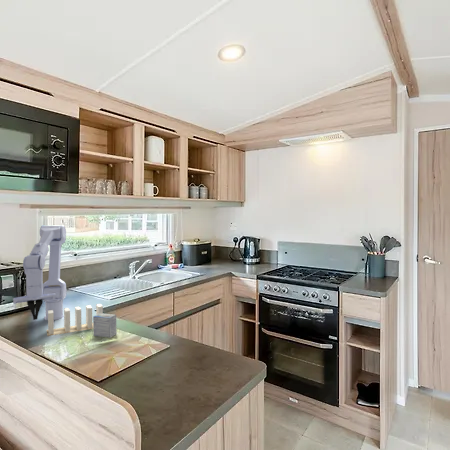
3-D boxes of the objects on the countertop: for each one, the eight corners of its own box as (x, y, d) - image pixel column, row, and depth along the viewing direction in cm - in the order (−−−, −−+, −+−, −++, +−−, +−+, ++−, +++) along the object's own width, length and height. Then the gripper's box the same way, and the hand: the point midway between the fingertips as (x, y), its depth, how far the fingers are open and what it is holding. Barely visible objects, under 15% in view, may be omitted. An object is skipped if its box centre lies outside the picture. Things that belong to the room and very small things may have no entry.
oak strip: (46, 332, 139) (46, 330, 139) (106, 322, 151) (106, 320, 151) (47, 338, 132) (47, 336, 132) (110, 327, 144) (110, 325, 144)
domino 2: (64, 328, 141) (63, 308, 141) (69, 327, 142) (68, 307, 142) (65, 331, 137) (65, 311, 136) (70, 331, 138) (69, 310, 137)
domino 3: (75, 326, 143) (75, 307, 143) (79, 325, 144) (79, 306, 144) (76, 330, 139) (76, 309, 139) (81, 329, 140) (81, 309, 140)
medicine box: (117, 335, 135) (116, 314, 134) (110, 339, 130) (110, 317, 130) (100, 333, 137) (99, 312, 137) (93, 337, 133) (92, 316, 132)
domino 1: (48, 330, 138) (47, 310, 138) (53, 330, 139) (52, 309, 139) (48, 334, 134) (48, 313, 133) (53, 333, 135) (53, 313, 134)
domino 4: (86, 324, 145) (85, 305, 145) (90, 324, 146) (90, 305, 146) (87, 328, 141) (87, 308, 141) (92, 327, 142) (92, 307, 142)
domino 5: (96, 323, 148) (96, 304, 147) (100, 322, 148) (100, 303, 148) (98, 326, 143) (98, 306, 143) (103, 325, 144) (102, 306, 144)
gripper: (12, 289, 126) (13, 324, 126) (55, 284, 133) (56, 318, 133) (13, 285, 132) (14, 319, 132) (54, 281, 139) (55, 314, 140)
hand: (35, 318), depth 133 cm, fingers closed
